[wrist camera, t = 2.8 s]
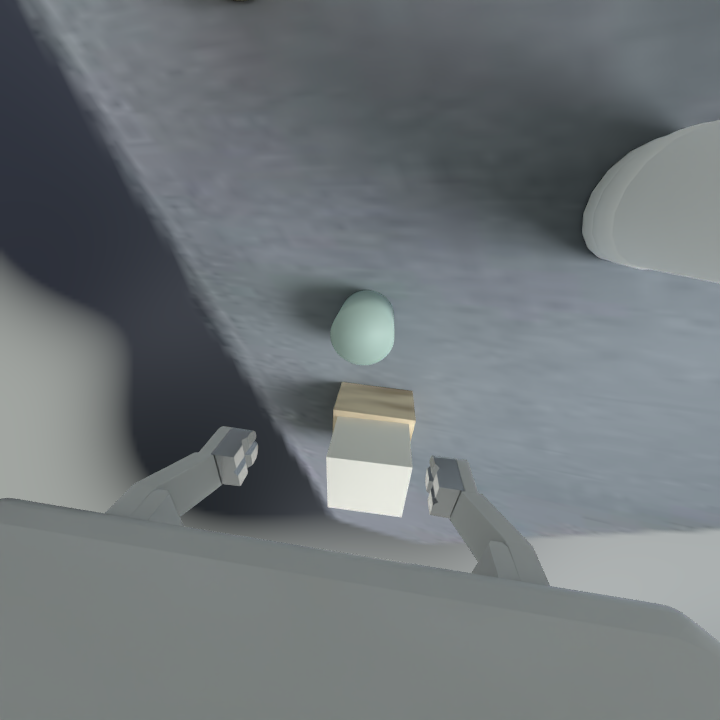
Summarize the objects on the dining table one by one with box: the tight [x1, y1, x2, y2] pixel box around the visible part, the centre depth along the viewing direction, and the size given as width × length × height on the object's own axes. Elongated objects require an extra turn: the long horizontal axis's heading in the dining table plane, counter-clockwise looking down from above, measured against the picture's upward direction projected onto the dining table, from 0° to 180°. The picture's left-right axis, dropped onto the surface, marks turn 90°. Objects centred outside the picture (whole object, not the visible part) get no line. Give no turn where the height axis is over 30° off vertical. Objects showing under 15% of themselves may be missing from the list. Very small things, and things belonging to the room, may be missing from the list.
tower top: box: [326, 416, 412, 517], centre depth 25 cm, size 7×7×5 cm
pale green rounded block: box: [330, 290, 394, 365], centre depth 23 cm, size 5×5×5 cm
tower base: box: [333, 382, 416, 441], centre depth 29 cm, size 8×8×5 cm
